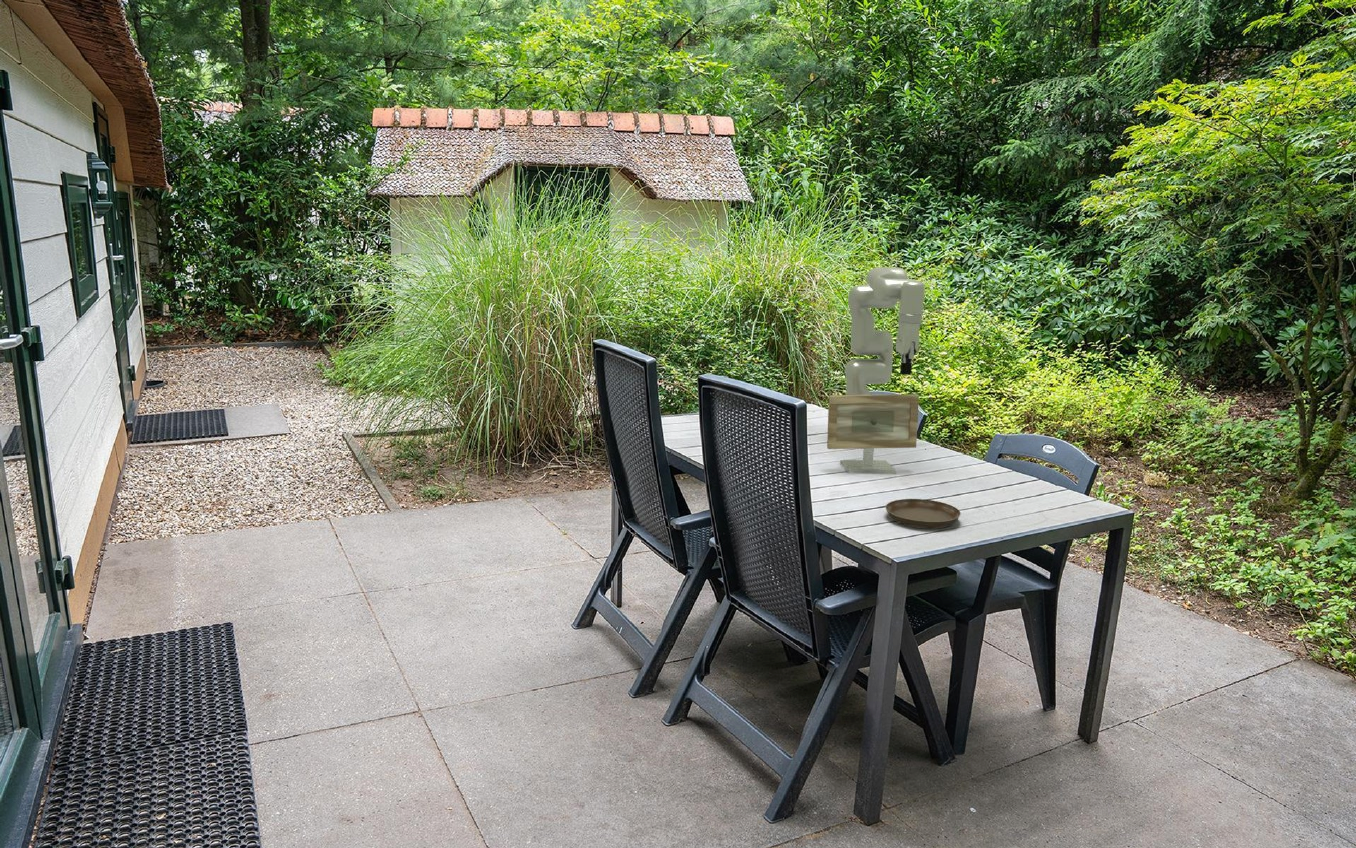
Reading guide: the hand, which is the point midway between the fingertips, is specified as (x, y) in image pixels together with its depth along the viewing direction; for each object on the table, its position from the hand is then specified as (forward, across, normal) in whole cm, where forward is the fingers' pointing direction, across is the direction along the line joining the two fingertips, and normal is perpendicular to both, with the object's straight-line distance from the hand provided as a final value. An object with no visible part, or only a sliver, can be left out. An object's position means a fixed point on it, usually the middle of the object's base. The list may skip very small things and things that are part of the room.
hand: (905, 374), depth 311 cm
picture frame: (+25, +1, -10) cm, 27 cm away
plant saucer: (+33, +54, -9) cm, 64 cm away
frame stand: (+33, -1, -10) cm, 35 cm away
